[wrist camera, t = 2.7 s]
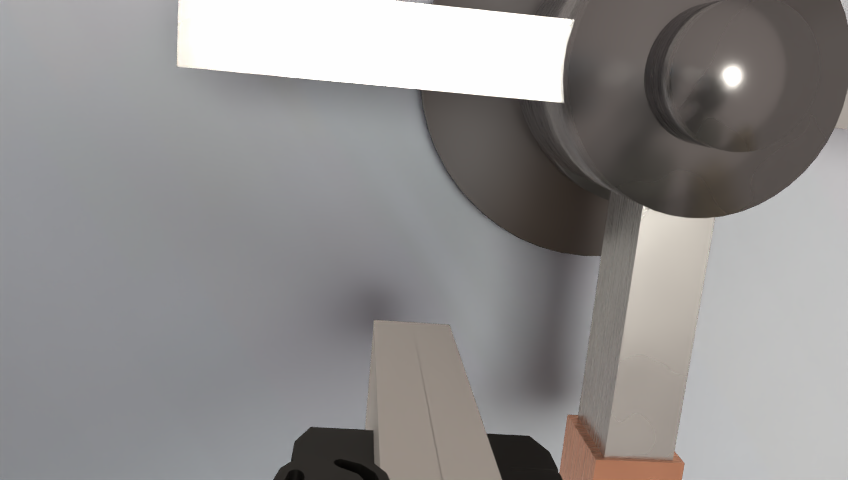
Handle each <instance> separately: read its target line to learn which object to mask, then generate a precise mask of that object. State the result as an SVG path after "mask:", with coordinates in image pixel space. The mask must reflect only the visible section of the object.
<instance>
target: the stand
mask: <svg viewBox="0 0 848 480" xmlns="http://www.w3.org/2000/svg"><path fill="white" fill-rule="evenodd" d="M543 1H544V0H434V2H433V4H432V5H438V6H448V7H457V8H467V9H476V10H486V11H495V12H504V13H514V14H523V15H533V16H534V14H535V12H536V11H537V9H538V8H539V6H540V5H541V3H542V2H543ZM421 95H422V105H423V109H424V113H425V118H426V122H427V126H428V130H429V132H430V135H431V138H432V140H433V143H434V146H435V148H436V151H437V153H438V155H439V157H440V159H441V160H442V162H443V164H444V166H445V168H446V170H447V172H448V173H449V174H450V176H451V177H452V179H453V180H454V181H455V183H456V184H457V185H458V187H459V188H460V190H461V191H462V192H463V193H464V194H465V195H466V196H467V197H468V198H469V199H470V201H471V202H472V203H473V204H474V205H475V206H476V207H477V208H478V209H479V210H480V211H481V212H482V213H483V214H485V215H486V216H487V217H488V218H490V219H491V220H492V221H493V222H495V223H496V224H497V225H498V226H500V227H502V228H503V229H505V230H507V231H508V232H510V233H512V234H513V235H515V236H517V237H518V238H521V239H523V240H525V241H528V242H530V243H532V244H535V245H537V246H539V247H543V248H546V249H550V250H554V251H557V252H561V253H568V254H575V255H582V256H601V253H602V246H603V239H604V233H605V226H606V219H607V212H608V205H609V201H608V200H606V199H604V198H601V197H599V196H597V195H595V194H593V193H591V192H589V191H587V190H585V189H583V188H582V187H580V186H579V185H577V184H575V183H574V182H572V181H571V180H570V179H568V178H567V177H566V176H565V175H564V174H562V173H561V172H560V171H559V170H558V169H557V168H556V167H555V166H554V165H553V163H552V162H551V161H550V160H549V159H548V158H547V156H546V155H545V153H544V152H543V150H542V149H541V147H540V146H539V144H538V142H537V141H536V139H535V138H534V136H533V135H532V133H531V131H530V129H529V127H528V125H527V123H526V121H525V118H524V115H523V112H522V109H521V105H520V100H519V98H509V97H498V96H487V95H477V94H466V93H455V92H444V91H434V90H423V89H421Z"/></svg>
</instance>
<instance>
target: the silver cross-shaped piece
mask: <svg viewBox="0 0 848 480" xmlns="http://www.w3.org/2000/svg"><path fill="white" fill-rule="evenodd" d="M177 67H187V68H198V69H209V70H220V71H230V72H241V73H252V74H262V75H273V76H284V77H295V78H305V79H316V80H327V81H337V82H348V83H359V84H370V85H380V86H391V87H402V88H412V89H423V90H434V91H444V92H455V93H466V94H477V95H487V96H498V97H509V98H519V100H520V105H521V109H522V112H523V115H524V118H525V121H526V123H527V125H528V127H529V129H530V131H531V133H532V135H533V136H534V138H535V139H536V141H537V142H538V144H539V146H540V147H541V149H542V150H543V152H544V153H545V155H546V156H547V158H548V159H549V160H550V161H551V162H552V163H553V165H554V166H555V167H556V168H557V169H558V170H559V171H560V172H561V173H562V174H564V175H565V176H566V177H567V178H568V179H570V180H571V181H572V182H574V183H575V184H577V185H579V186H580V187H582V188H583V189H585V190H587V191H589V192H591V193H593V194H595V195H597V196H599V197H601V198H604V199H606V200H608V201H609V205H608V212H607V219H606V226H605V233H604V239H603V246H602V253H601V260H600V267H599V274H598V281H597V288H596V295H595V302H594V309H593V315H592V322H591V329H590V336H589V343H588V350H587V357H586V364H585V371H584V378H583V385H582V392H581V398H580V405H579V412H578V415H568V416H567V423H566V430H565V437H564V444H563V451H562V458H561V465H560V472H559V473H560V475H561V477H562V479H563V480H682V475H683V469H684V464H685V463H684V462H683V461H682V460H681V458H680V457H679V456H678V455H677V454H676V453H675V451H674V450H675V445H676V439H677V433H678V427H679V422H680V416H681V410H682V405H683V399H684V393H685V387H686V382H687V376H688V370H689V364H690V359H691V353H692V347H693V341H694V336H695V330H696V324H697V319H698V313H699V307H700V301H701V296H702V290H703V284H704V278H705V273H706V267H707V261H708V255H709V250H710V244H711V238H712V232H713V227H714V221H715V217H720V216H726V215H730V214H734V213H737V212H741V211H744V210H746V209H749V208H751V207H754V206H756V205H759V204H760V203H762V202H764V201H766V200H768V199H770V198H771V197H773V196H775V195H776V194H778V193H779V192H781V191H782V190H783V189H785V188H786V187H788V186H789V185H790V184H791V183H792V182H793V181H795V180H796V179H797V178H798V177H799V176H800V175H801V174H802V173H803V172H804V171H805V170H806V169H807V168H808V167H809V166H810V164H811V163H812V162H813V161H814V160H815V159H816V157H817V156H818V154H819V153H820V152H821V150H822V149H823V147H824V146H825V144H826V143H827V141H828V139H829V137H830V135H831V134H832V132H833V130H834V128H841V129H848V24H847V20H846V15H845V12H844V9H843V6H842V4H841V1H840V0H544V1H543V2H542V3H541V5H540V6H539V8H538V9H537V11H536V12H535V14H534V16H533V15H523V14H514V13H504V12H495V11H486V10H476V9H467V8H457V7H448V6H438V5H429V4H419V3H410V2H400V1H391V0H178V38H177Z"/></svg>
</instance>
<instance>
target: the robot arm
mask: <svg viewBox="0 0 848 480" xmlns="http://www.w3.org/2000/svg"><path fill="white" fill-rule="evenodd" d="M273 480H563V479H562V477H561V475H560V473H558V469H557V467H556V465H555V462H554V460H553V458H552V456H551V454H550V452H549V451H548V450H546V449H545V448H544V447H543V446H541V445H540V444H539V443H538V442H536V441H535V440H534V439H533V438H531V437H530V436H521V435H502V434H486V431H485V428H484V425H483V422H482V419H481V416H480V413H479V410H478V407H477V405H476V402H475V399H474V396H473V393H472V390H471V387H470V384H469V381H468V378H467V375H466V372H465V369H464V366H463V363H462V360H461V357H460V354H459V351H458V349H457V346H456V343H455V340H454V337H453V334H452V331H451V328H450V325H446V324H430V323H415V322H400V321H384V320H374V326H373V338H372V350H371V362H370V374H369V386H368V398H367V410H366V422H365V430H358V429H339V428H319V427H310V428H309V429H308V430H307V431H306V432H305V433H304V434H303V435H301V436H300V437H299V438H298V439H297V440H296V441H295V443H294V448H293V453H292V459H291V462H290V463H288V464H286V465H285V466H283V467H281V468H280V469H279V471H278V473H277V474H276V476H275V478H274V479H273Z"/></svg>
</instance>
